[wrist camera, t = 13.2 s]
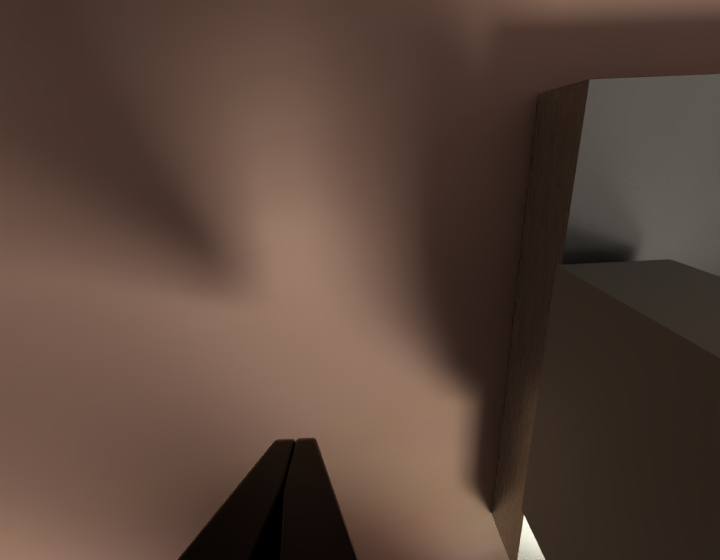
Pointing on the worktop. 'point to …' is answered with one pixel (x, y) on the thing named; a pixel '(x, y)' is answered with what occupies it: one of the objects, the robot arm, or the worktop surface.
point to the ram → (628, 415)
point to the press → (603, 224)
